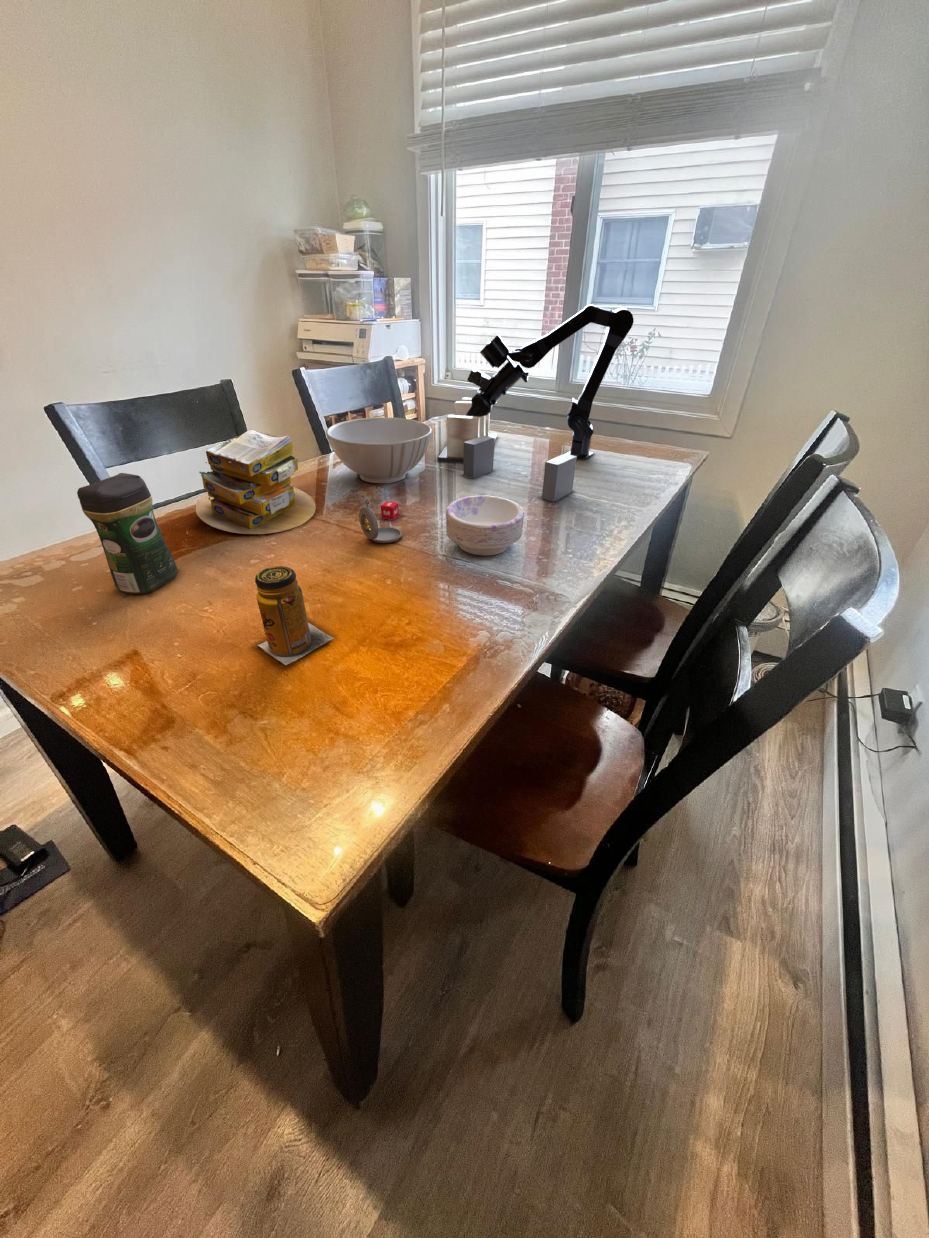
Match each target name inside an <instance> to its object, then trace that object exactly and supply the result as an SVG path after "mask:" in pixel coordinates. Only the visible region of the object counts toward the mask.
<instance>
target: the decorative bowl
mask: <svg viewBox="0 0 929 1238" xmlns="http://www.w3.org/2000/svg"><path fill="white" fill-rule="evenodd" d="M432 432H433V430H432V428H431V426H430V425H429V424H427V423H425V422H423V421H419V420H415V419H409V418H403V417H389V416H387V417H386V416H385V417H380V416H379V417H363V418H356V419H355V418H354V419H350V420H345V421H341V422H338V423H335V424H332V425H331V426H330V427H328V428H327V429H326V432H325V434H326V438H327V440H328V443H329V445H330V447H331V449H332V450H333V452H334V454H335V455H336V457H337V459H339V461H340V462H341V463H342V464H343V465H344V466H345V467H346V468H348V469H349V470H351V472H353V473H355V474H356V475H359V479H361V480H362V481H364V482H367V483H371V484H390V483H396V482H399V481H401V480H403V479H405V478H406V476H407V473H408V472H410V471H412V470H413V469H414V468H415V467H416V466H417V465H418V464H419V463H420V461H421V460H422V458H423V457H424V456H425V454H426V452H427V449H428V447H429V444H430V441H431V438H432V434H433V433H432Z"/></svg>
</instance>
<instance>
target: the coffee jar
mask: <svg viewBox="0 0 929 1238" xmlns="http://www.w3.org/2000/svg"><path fill="white" fill-rule="evenodd" d="M76 495H77V499H78V500H79V504H80V507H81V510H82V512H83V514H84V515H85V516H86V517H87V519H89V520H90V521H91V523H92V524H93V526H94V528H95V530H96V532H97V534H98V535H97V536H99V537H98V538H99V541H100V544H101V546H102V549H103V552H104V555H105V558H106V562H107V565H108V569H109V572H110V576H111V578H112V581H113V584H114V586H115V588H116V589H117V590H119V591H120V592H123V593H125V594H129V595H139V594H141V595H142V594H148V593H151V592H153V591H155V590H157V589H159V588H161V587H163V586H164V585H166V584H167V583H169V582H170V581H172V580H173V579H175V578H176V577H177V575H178V573H179V568H178V566H177V564H176V563H177V562H176V561H175V559H174V556H173V555H172V553H171V550H170V549H169V546H168V545H167V542H166V540H165V538H164V535H163V533H162V531H161V529H160V527H159V525H158V522H157V519H156V516H155V513H154V508H153V496H152V494H151V492H150V490H149V488H148V486H147V484H146V481H145V480H144V479H143V478H142V477H141V476H140V475H138V474H133V473H126V472H119V473H118V474H115V475H113V476H110V477H107V478H104V479H101V480H99V481H96V482H94V483H91V484H88V485H85V486H81V487H78V489H77V491H76Z"/></svg>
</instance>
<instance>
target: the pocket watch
mask: <svg viewBox="0 0 929 1238" xmlns="http://www.w3.org/2000/svg"><path fill="white" fill-rule="evenodd" d="M361 497H362V500H363V501H364V504H365V505H364V506H362V507H360V509H359V511H358V521H359V526H360V528H361V530H362V533H363V534H364V536H365V538H367V539H369V540H371V541H372V542H374V543H378V544H389V543H394V542H397V541H398V540H400V539H401V538H402V531H401V529H399V528H396V527H392V526H382V527H379V523H378V519H377V517H376V514H375V512H374V511H373V509H372V508H371V507H370V503H371V501H370V499H369V498H368V497H367V496H366V495H364V494H362V495H361Z"/></svg>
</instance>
